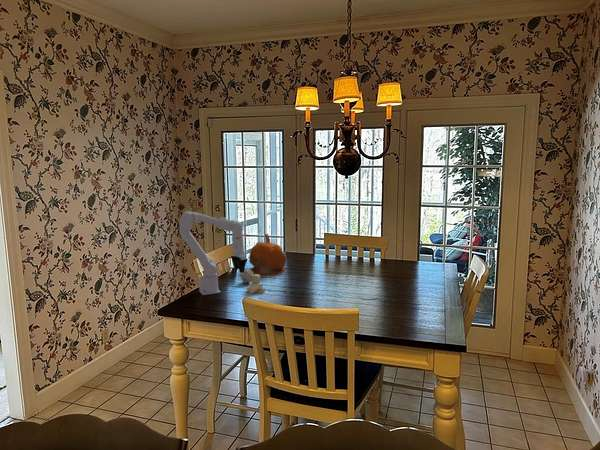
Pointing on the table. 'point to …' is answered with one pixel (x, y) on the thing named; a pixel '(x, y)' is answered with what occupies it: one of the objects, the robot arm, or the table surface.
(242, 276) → the game die
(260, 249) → the pumpkin
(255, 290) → the birch base block
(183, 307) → the table surface
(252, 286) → the cream block
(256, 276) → the green capsule
